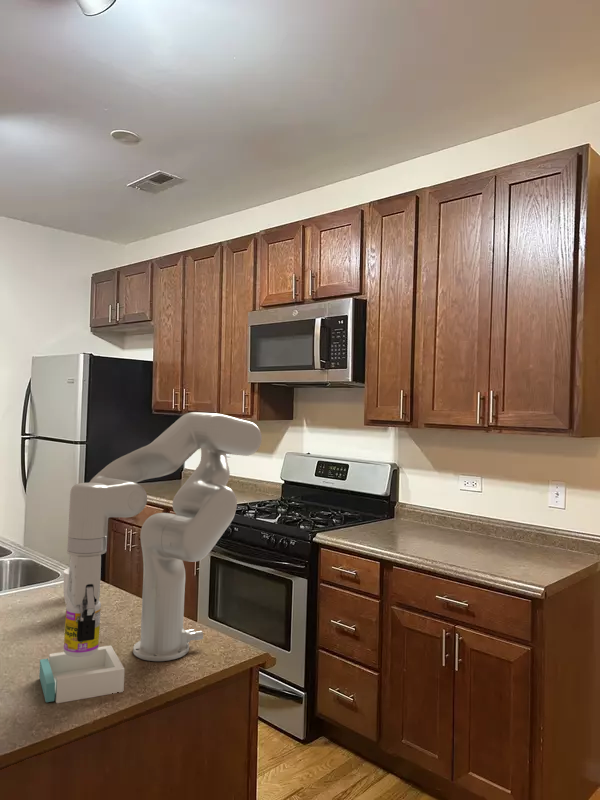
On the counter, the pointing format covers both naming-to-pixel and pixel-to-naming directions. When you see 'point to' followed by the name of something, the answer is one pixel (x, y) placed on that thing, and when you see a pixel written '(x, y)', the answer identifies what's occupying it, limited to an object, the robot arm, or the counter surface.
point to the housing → (86, 674)
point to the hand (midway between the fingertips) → (82, 633)
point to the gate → (47, 680)
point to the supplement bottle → (71, 626)
